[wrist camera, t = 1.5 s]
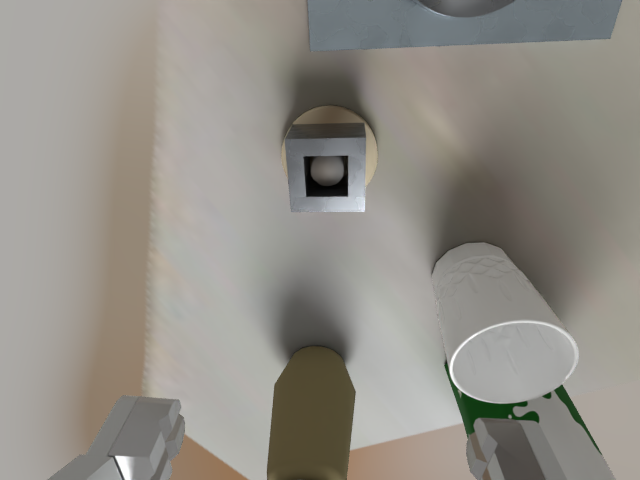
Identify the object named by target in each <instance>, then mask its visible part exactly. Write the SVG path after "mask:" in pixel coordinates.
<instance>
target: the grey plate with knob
mask: <svg viewBox="0 0 640 480" xmlns="http://www.w3.org/2000/svg"><path fill="white" fill-rule="evenodd" d="M621 2H622V0H308V16H309V35H310V51H329V50H353V49H377V48H401V47H425V46H449V45H473V44H497V43H521V42H545V41H569V40H593V39H610V38H611V34H612V31H613V28H614V25H615V22H616V18H617V15H618V12H619V9H620V6H621Z"/></svg>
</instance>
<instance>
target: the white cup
mask: <svg viewBox="0 0 640 480" xmlns="http://www.w3.org/2000/svg"><path fill="white" fill-rule="evenodd" d="M431 278H432V282H433V286H434V291H435V297H436V302H435V304H436V309H437V315H438V319H439V326H440V331H441V335H442V339H443V344H444V348H445V353H446V358H447V363H448V367H449V372H450V376H451V379H452V381H453V383H454V384H455V385H456V387H457V388H458V389H459V390H460V391H462V392H463V393H465V394H466V395H468V396H470V397H472V398H474V399H477V400H480V401H484V402H490V403H500V404H506V403H518V402H524V401H528V400H532V399H535V398H538V397H541V396H543V395H545V394H547V393H549V392H551V391H553V390H555V389H556V388H558V387H559V386H560V385H562V384H563V383H564V382H565V381H566V380H567V379H568V378H569V377H570V376H571V375H572V373H573V372H574V370H575V368H576V366H577V363H578V359H579V350H578V346H577V344H576V342H575V340H574V338H573V337H572V336H571V334H570V333H569V332H568V331H567V329H566V328H565V327H564V325H563V324H562V323H561V321H560V320H559V319H558V317H557V316H556V315H555V313H554V312H553V311H552V309H551V308H550V307H549V305H548V304H547V303H546V301H545V300H544V299H543V297H542V296H541V294H540V293H539V292H538V291H537V290H536V289H535V288H534V286H533V285H532V283H531V282H530V281H529V280H528V279H527V278H526V276H525V275H524V274H523V272H522V271H521V270H519V269H518V268H517V267H516V266H515V264H514V263H513V261H512V260H511V259H510V258H509V257H508V256H507V254H506V253H505V252H504V251H503V250H502V249H501V248H499V247H496V246H494V245H491V244H488V243H485V242H480V243H465V244H463V245H460V246H458V247H456V248H453V249H451V250H449V251H447V252H446V253H445V254H444V255H443V256H442V257H441V258H440V259H439V260H438V261H437V262H436V265H435V268H434V271H433V274H432V277H431Z"/></svg>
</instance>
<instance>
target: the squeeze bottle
mask: <svg viewBox="0 0 640 480" xmlns="http://www.w3.org/2000/svg"><path fill="white" fill-rule="evenodd" d="M355 394H356V392H355V389H354V386H353V384H352V381H351V379H350V376H349V374H348V371H347V368H346V366H345V363H344V361H343V359H342V357H341V356H340V355H338V354H337V353H336V352H335V351H333V350H331V349H328V348H325V347H319V346H311V347H306V348H302V349H300V350H299V351H297V352H295V353H294V355H293V356H292V358H291V359H290V361H289V363H288V364H287V366H286V367H285V369H284V370H283V372H282V374H281V375H280V377H279V378H278V380H277V382H276V383H275V386H274V397H273V408H272V419H271V431H270V442H269V453H268V464H267V480H347V471H348V461H349V452H350V442H351V432H352V423H353V413H354V403H355Z"/></svg>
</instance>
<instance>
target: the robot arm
mask: <svg viewBox="0 0 640 480" xmlns="http://www.w3.org/2000/svg"><path fill="white" fill-rule="evenodd" d="M180 409H181V404H180V401H179V399H166V398H152V397H142V396H126V395H123V396H121V397H120V399H118V400H117V402H116V403H115V405H114V407H113V408H112V410H111V412H110V414H109V415H108V417H107V419H106V421H105V422H104V424H103V426H102V427H101V429H100V431H99V432H98V434H97V436H96V438H95V440H94V442H93V443H92V445H91V446H90V448H89V450H88V452H87V453H86V455H79V456H78V457H77V458H75V459H74V460H72V461H71V462H70V463H68V464H67V465H66V466H65V467H63V468H62V469H61V470H60V471H58V472H57V473H55V474H54V475H53V476H51V477H50V478H49V479H48V480H169V479H170V476H171V473H172V467H171V463H170V461H171V460H172V459H173V458H174V457H175V456H176V455H177V454H179V451H180V448H181V445H182V442H183V437H184V432H185V422H184V417H183V416H181V415H180V414H179V412H180ZM473 426H474V429H475V432H474V433H472V434H471V435H469V438H468V441H467V449H466V451H467V452H466V454H467V460H468V464H469V468H470V472H471V473H472V474H473V475H474V476H475V478H476V479H477V480H567V478H566V476H565V474H564V472H563V470H562V468H561V466H560V464H559V462H558V460H557V458H556V456H555V454H554V452H553V450H552V448H551V446H550V444H549V442H548V440H547V438H546V437H545V435H544V433H543V431H542V429H541V427H540V425H539V424H538V423H537V422H535V421H526V420H514V419H495V418H478V419H476V421H475V423H474V425H473Z"/></svg>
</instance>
